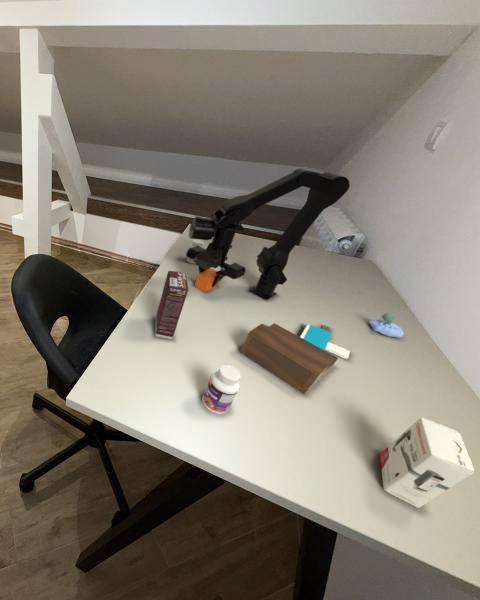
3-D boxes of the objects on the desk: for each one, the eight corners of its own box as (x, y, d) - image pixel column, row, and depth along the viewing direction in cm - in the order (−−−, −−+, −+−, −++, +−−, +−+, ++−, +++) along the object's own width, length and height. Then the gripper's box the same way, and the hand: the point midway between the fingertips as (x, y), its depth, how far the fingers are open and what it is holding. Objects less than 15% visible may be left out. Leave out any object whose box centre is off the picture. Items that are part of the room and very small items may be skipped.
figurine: (372, 333, 91) (387, 315, 87) (364, 320, 96) (377, 303, 93) (405, 341, 89) (421, 323, 85) (395, 328, 94) (410, 310, 90)
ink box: (377, 452, 59) (420, 414, 52) (410, 467, 57) (459, 430, 50) (382, 491, 53) (431, 453, 46) (419, 510, 51) (476, 473, 44)
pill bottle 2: (197, 393, 68) (211, 361, 62) (220, 393, 68) (236, 361, 63) (207, 415, 63) (223, 382, 58) (232, 414, 64) (250, 382, 58)
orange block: (206, 280, 110) (210, 268, 107) (217, 286, 107) (222, 274, 105) (194, 285, 107) (198, 273, 104) (205, 292, 104) (210, 279, 101)
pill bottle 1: (196, 264, 120) (202, 244, 116) (184, 261, 122) (190, 241, 117) (199, 260, 124) (205, 241, 119) (187, 257, 126) (193, 237, 121)
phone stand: (341, 376, 75) (345, 371, 74) (288, 350, 82) (291, 346, 81) (353, 339, 88) (356, 335, 87) (306, 320, 94) (308, 315, 93)
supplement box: (173, 340, 82) (189, 289, 73) (154, 336, 83) (168, 286, 74) (172, 320, 89) (186, 272, 80) (155, 317, 90) (167, 269, 81)
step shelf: (269, 331, 88) (280, 311, 84) (332, 366, 78) (347, 345, 74) (239, 351, 80) (249, 331, 76) (304, 394, 70) (320, 373, 66)
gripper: (181, 235, 100) (170, 277, 108) (234, 258, 87) (216, 304, 96) (202, 229, 105) (190, 270, 114) (254, 251, 93) (236, 294, 102)
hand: (206, 283), depth 106 cm, fingers open, 5 cm apart
